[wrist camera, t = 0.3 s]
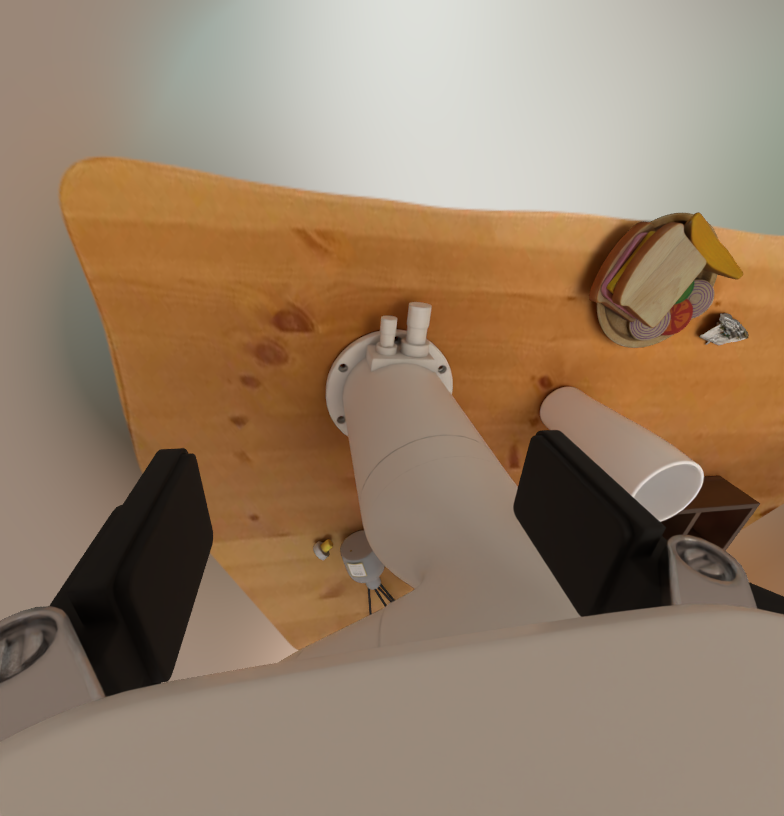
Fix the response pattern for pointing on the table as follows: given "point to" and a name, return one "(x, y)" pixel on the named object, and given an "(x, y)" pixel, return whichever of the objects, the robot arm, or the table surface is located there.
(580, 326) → the table surface
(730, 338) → the silver ridged wedge
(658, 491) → the tall white cup
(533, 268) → the table surface
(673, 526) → the divided wooden box
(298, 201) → the table surface
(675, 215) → the toy sandwich meal
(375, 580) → the reed diffuser
